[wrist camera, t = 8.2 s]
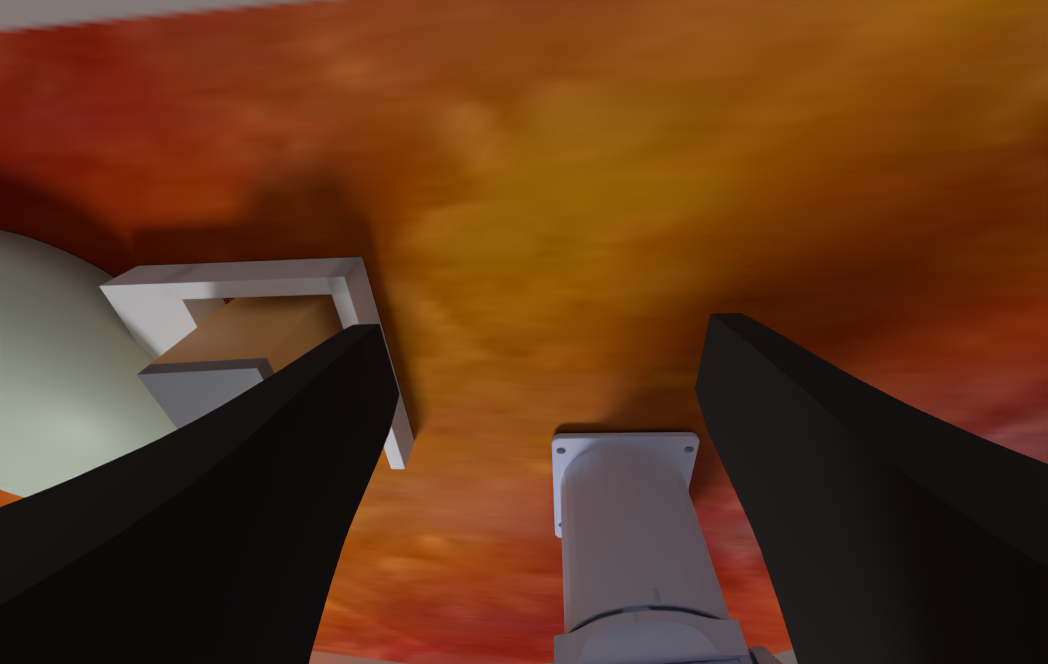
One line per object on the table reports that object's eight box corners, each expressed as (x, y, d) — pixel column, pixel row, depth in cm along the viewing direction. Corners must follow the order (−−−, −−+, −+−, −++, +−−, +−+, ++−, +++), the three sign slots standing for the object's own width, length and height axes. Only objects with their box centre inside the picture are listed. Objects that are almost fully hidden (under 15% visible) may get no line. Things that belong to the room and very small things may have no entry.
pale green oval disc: (421, 466, 26) (408, 510, 24) (31, 469, 28) (-20, 510, 25) (347, 205, 17) (314, 230, 15) (-212, 233, 19) (-325, 259, 17)
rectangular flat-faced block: (380, 413, 24) (335, 511, 19) (303, 417, 24) (240, 513, 19) (331, 286, 20) (256, 368, 15) (240, 293, 20) (136, 374, 15)
